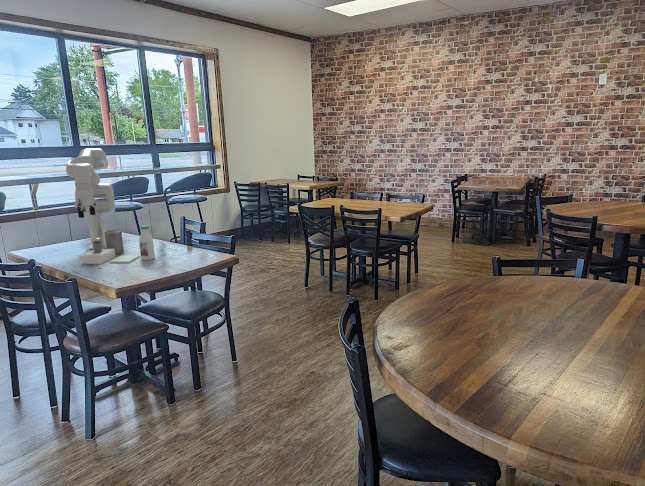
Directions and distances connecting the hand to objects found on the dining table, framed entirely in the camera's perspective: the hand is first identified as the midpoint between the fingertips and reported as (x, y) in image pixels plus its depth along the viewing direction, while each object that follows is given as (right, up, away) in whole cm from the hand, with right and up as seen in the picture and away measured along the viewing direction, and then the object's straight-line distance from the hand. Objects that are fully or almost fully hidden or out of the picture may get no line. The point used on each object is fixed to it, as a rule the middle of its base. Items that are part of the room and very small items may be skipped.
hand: (87, 216), depth 262 cm
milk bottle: (+32, -25, +8) cm, 42 cm away
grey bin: (+5, -22, +25) cm, 34 cm away
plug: (+3, -26, +8) cm, 27 cm away
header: (+3, -26, +8) cm, 27 cm away
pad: (+19, -26, +7) cm, 33 cm away
